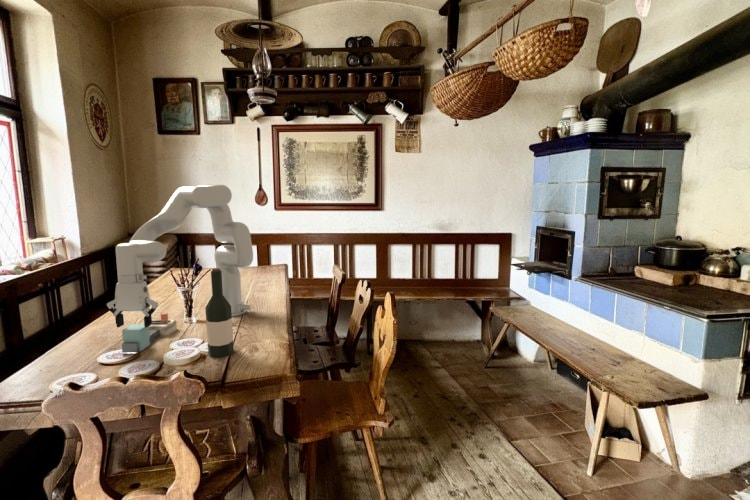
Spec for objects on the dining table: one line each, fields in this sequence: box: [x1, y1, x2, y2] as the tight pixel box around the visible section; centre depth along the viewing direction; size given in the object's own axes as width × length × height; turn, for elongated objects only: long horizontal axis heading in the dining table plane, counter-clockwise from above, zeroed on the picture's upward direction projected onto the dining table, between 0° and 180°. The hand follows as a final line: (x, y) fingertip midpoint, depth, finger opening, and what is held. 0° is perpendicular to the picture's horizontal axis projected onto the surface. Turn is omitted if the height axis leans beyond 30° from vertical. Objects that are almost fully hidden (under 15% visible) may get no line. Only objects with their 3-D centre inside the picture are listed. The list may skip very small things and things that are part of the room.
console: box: [149, 319, 178, 337], centre depth 161 cm, size 10×8×5 cm
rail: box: [121, 329, 161, 353], centre depth 148 cm, size 5×17×4 cm, turn 1°
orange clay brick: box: [160, 312, 169, 322], centre depth 161 cm, size 2×1×4 cm
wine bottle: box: [205, 267, 235, 359], centre depth 139 cm, size 8×8×30 cm
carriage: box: [121, 323, 151, 352], centre depth 144 cm, size 6×6×8 cm
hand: (134, 326), depth 143 cm, fingers open, 9 cm apart
